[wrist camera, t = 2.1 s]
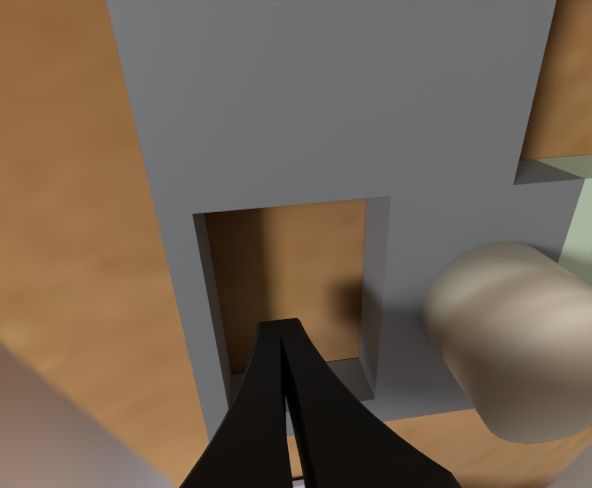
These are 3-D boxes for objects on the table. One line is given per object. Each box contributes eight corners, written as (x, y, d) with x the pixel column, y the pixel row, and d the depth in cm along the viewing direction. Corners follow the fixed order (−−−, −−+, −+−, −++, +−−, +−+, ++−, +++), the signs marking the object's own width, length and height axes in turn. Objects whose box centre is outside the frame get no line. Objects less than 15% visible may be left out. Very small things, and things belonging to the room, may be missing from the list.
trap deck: (599, 347, 20) (667, 404, 17) (214, 400, 18) (208, 476, 15) (777, -61, 12) (971, -99, 9) (121, -45, 10) (67, -87, 7)
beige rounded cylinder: (531, 343, 15) (617, 430, 12) (414, 359, 15) (467, 454, 11) (567, 233, 13) (687, 302, 10) (429, 248, 13) (502, 325, 9)
